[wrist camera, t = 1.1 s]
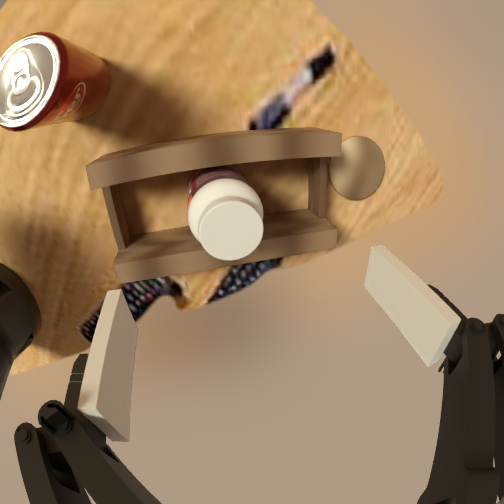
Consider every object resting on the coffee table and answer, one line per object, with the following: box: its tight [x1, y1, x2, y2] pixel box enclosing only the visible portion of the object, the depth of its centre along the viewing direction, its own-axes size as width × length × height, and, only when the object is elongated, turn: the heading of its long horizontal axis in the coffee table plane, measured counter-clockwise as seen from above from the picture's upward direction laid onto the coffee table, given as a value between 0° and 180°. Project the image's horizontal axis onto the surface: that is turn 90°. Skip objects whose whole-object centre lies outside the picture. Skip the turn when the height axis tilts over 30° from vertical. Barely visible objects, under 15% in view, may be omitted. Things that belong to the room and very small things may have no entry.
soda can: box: [0, 32, 111, 132], centre depth 15 cm, size 7×7×12 cm
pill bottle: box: [188, 165, 263, 260], centre depth 24 cm, size 6×6×11 cm
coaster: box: [329, 136, 385, 200], centre depth 31 cm, size 8×8×1 cm
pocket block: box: [86, 128, 342, 284], centre depth 26 cm, size 22×12×6 cm, turn 94°
